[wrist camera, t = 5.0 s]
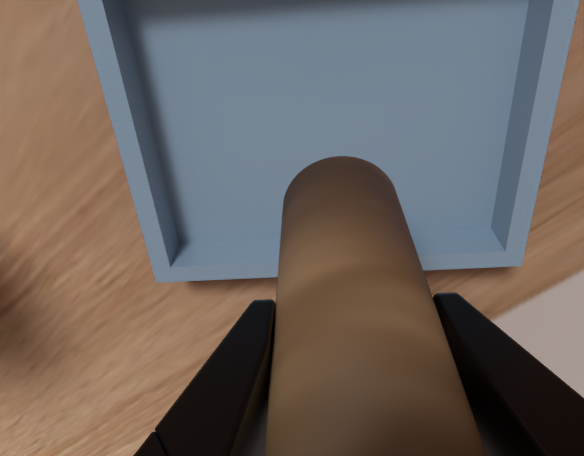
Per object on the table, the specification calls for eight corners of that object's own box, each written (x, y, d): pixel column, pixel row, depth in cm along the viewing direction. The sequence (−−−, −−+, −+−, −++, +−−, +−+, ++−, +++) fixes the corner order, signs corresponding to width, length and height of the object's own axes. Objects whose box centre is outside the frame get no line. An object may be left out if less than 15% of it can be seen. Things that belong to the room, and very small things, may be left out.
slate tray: (561, -94, 16) (600, -97, 14) (501, 234, 23) (521, 266, 21) (93, -54, 17) (63, -50, 15) (169, 250, 24) (156, 282, 22)
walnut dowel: (401, 152, 12) (575, 564, 4) (395, 253, 13) (514, 685, 6) (278, 159, 12) (233, 568, 4) (286, 258, 14) (265, 684, 6)
